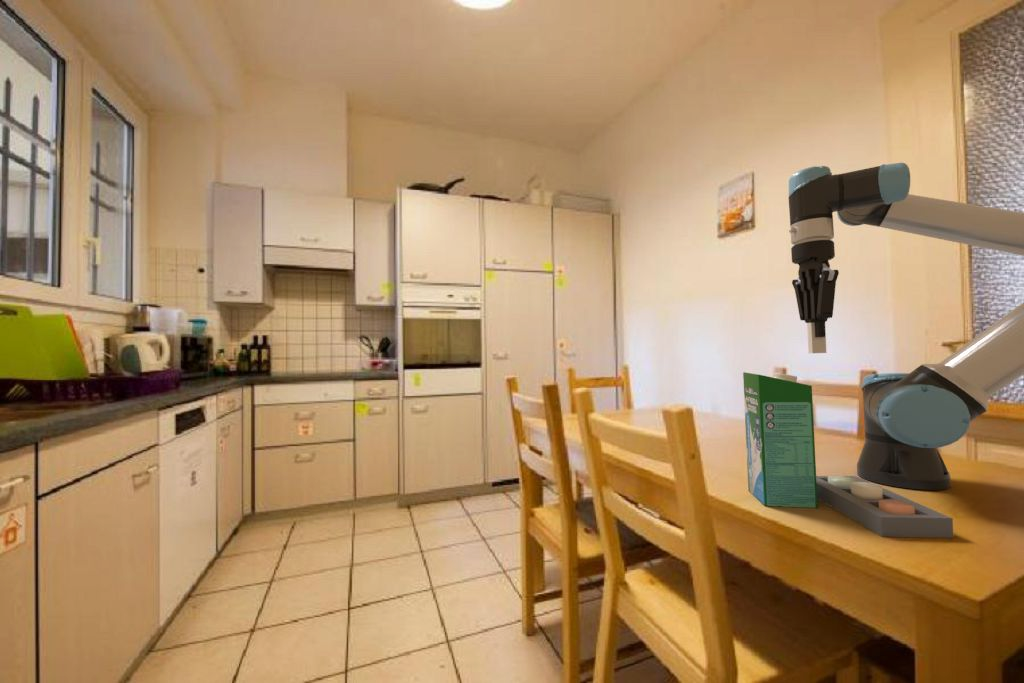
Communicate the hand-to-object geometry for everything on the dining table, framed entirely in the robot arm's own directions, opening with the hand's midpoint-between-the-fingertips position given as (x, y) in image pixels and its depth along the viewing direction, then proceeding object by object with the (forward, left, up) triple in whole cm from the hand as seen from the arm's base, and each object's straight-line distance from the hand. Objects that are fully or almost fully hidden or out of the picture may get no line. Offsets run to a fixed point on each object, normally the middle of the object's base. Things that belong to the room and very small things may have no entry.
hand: (817, 353), depth 90 cm
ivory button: (0, +13, -27) cm, 30 cm away
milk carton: (+12, +7, -29) cm, 32 cm away
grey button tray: (0, +13, -28) cm, 31 cm away
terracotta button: (0, +20, -28) cm, 34 cm away
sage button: (0, +6, -28) cm, 28 cm away
